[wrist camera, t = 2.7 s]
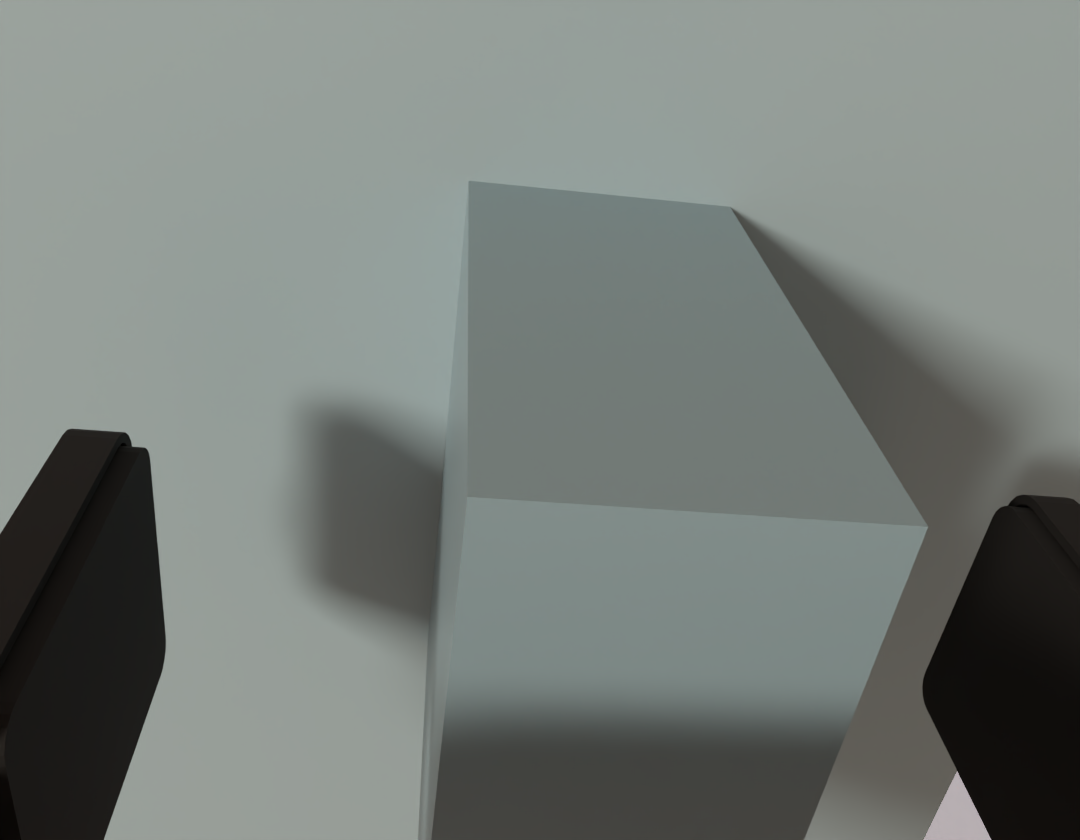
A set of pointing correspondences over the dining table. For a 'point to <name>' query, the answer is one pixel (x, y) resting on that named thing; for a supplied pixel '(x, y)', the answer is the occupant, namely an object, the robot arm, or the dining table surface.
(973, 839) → the dining table surface
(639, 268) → the lid
